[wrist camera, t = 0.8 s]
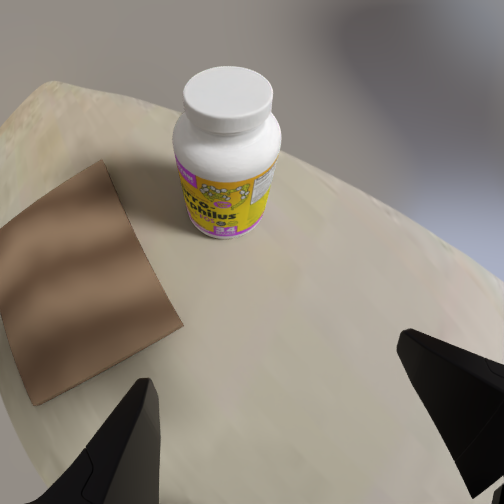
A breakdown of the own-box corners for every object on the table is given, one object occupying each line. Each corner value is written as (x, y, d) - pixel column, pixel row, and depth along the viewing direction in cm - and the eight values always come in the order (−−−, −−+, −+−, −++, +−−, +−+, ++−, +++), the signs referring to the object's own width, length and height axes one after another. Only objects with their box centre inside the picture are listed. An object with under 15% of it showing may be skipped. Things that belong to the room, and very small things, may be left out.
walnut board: (184, 325, 21) (181, 324, 20) (39, 405, 17) (33, 405, 16) (105, 165, 26) (102, 159, 25) (-7, 242, 22) (-12, 239, 21)
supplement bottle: (172, 214, 24) (136, 100, 12) (218, 164, 27) (217, 47, 15) (235, 257, 24) (242, 153, 12) (278, 200, 26) (313, 85, 14)
